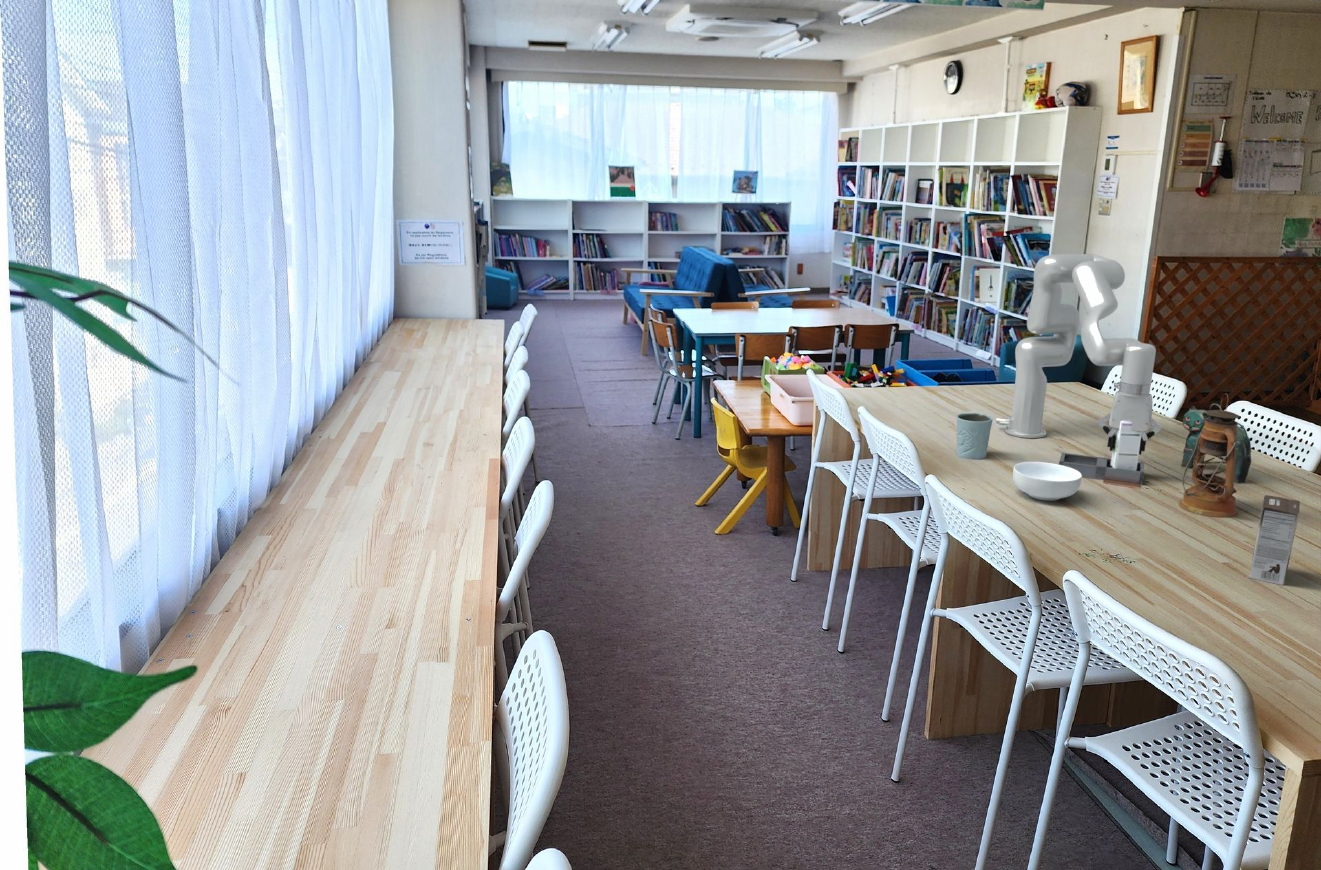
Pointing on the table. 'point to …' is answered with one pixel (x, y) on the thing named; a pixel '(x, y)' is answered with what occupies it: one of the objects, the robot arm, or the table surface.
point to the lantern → (1209, 489)
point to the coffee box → (1274, 539)
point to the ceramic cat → (1195, 424)
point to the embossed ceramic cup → (973, 435)
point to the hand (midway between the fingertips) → (1125, 451)
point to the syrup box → (1125, 447)
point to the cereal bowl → (1046, 480)
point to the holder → (1103, 470)
